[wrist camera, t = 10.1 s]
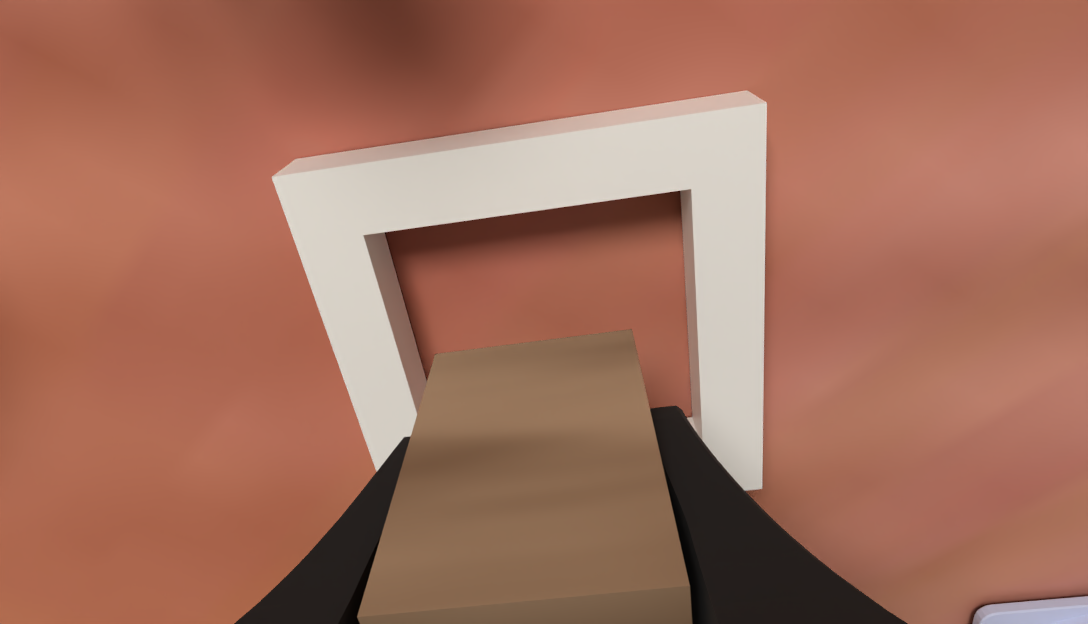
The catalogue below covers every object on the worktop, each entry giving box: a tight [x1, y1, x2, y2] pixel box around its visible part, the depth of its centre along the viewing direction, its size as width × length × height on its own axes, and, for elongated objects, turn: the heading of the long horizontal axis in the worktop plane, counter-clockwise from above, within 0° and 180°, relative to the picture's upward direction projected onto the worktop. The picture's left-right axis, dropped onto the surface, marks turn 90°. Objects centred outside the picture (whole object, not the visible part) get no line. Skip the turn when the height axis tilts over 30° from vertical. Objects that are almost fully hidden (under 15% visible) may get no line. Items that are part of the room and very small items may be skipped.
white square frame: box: [272, 91, 767, 491], centre depth 17 cm, size 11×11×2 cm
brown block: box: [357, 329, 692, 624], centre depth 11 cm, size 4×4×6 cm
